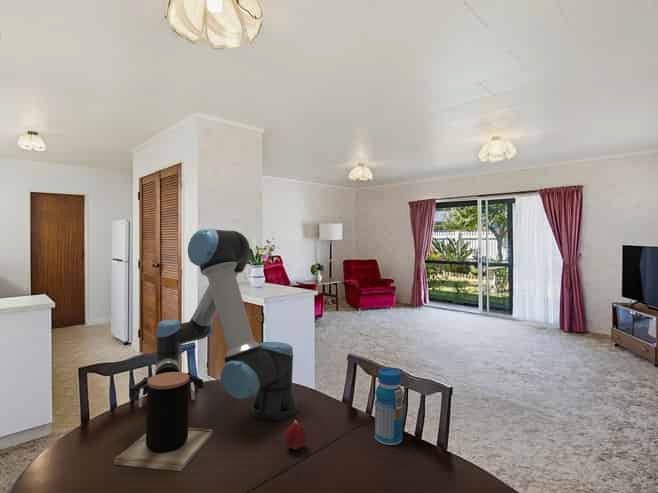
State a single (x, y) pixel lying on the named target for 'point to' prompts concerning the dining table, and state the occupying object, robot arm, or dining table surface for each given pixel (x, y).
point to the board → (167, 461)
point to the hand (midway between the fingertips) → (167, 398)
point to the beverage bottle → (389, 407)
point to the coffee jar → (167, 411)
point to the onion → (295, 435)
